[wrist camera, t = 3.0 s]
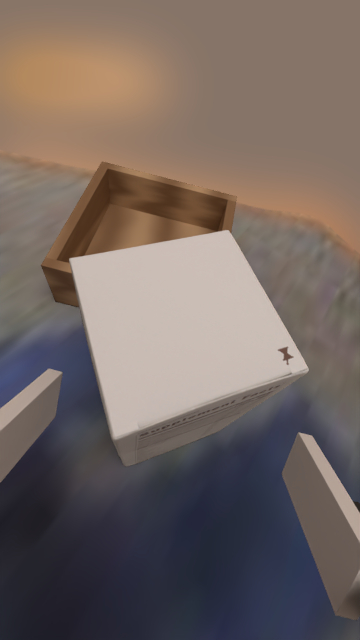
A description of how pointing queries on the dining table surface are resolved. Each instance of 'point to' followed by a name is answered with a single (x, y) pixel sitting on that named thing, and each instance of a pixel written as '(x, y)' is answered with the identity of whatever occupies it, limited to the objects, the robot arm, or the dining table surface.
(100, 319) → the supplement box
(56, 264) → the oak crate
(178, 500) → the dining table surface
